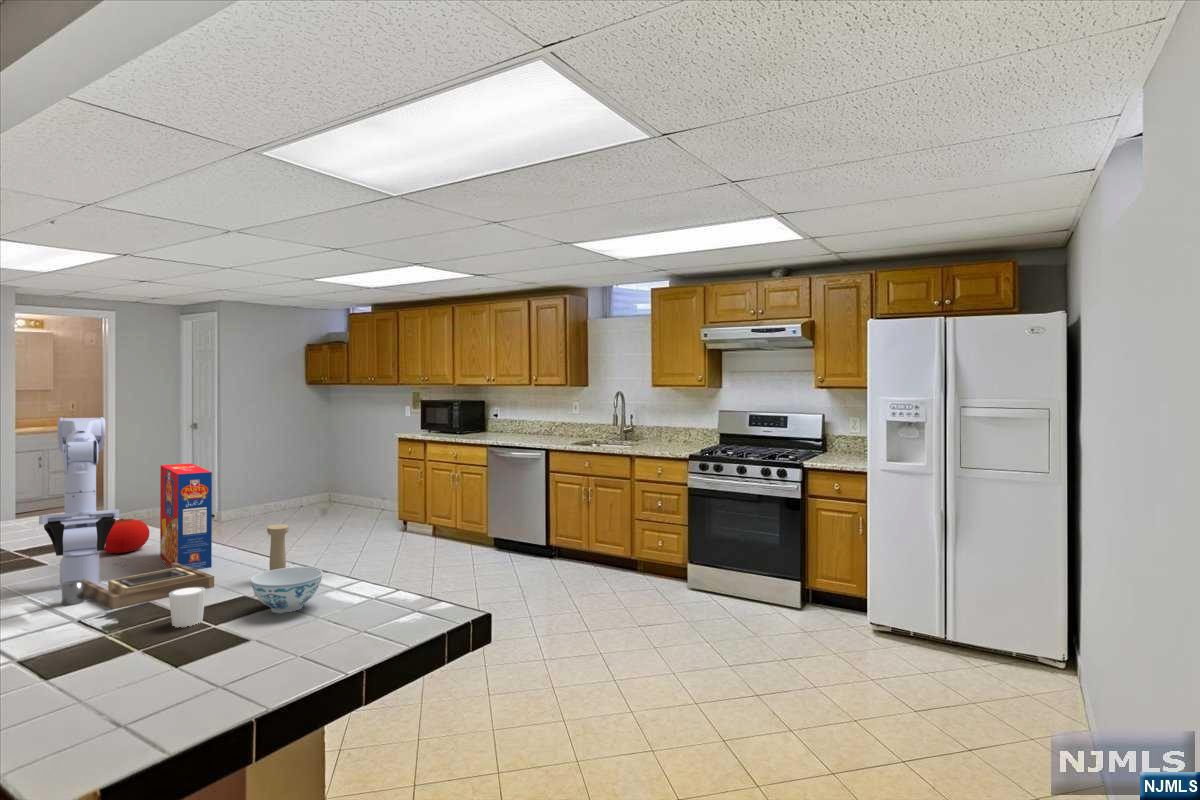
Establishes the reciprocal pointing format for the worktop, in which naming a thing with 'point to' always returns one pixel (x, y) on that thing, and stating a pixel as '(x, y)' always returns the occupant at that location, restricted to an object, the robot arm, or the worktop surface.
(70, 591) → the peg
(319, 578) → the chinaware
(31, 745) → the worktop surface
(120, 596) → the bay
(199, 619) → the white cylinder
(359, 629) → the worktop surface
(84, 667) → the worktop surface
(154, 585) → the crate
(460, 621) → the worktop surface
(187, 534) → the pasta box
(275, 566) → the handle
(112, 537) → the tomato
